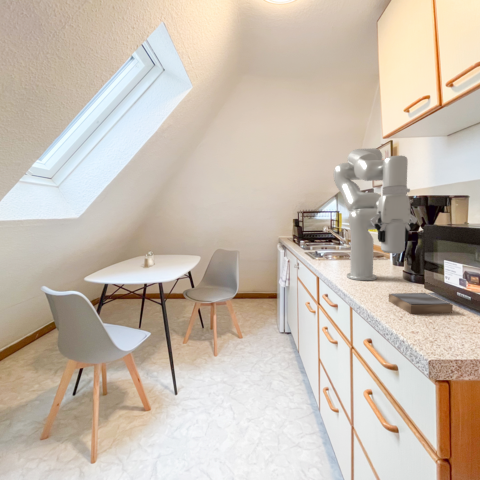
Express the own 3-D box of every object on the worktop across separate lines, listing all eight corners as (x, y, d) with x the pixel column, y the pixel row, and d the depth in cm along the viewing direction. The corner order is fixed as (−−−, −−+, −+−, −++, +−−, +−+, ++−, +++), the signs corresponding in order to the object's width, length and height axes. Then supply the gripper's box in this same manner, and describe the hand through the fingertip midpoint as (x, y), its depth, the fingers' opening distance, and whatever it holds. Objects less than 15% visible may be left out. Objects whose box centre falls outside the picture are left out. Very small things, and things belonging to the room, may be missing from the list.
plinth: (388, 302, 92) (388, 293, 91) (424, 302, 92) (425, 292, 91) (410, 315, 80) (410, 304, 80) (452, 314, 80) (452, 303, 79)
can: (407, 253, 95) (409, 219, 94) (384, 253, 97) (385, 219, 96) (400, 250, 103) (401, 218, 101) (378, 250, 104) (379, 219, 103)
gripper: (412, 192, 101) (410, 240, 103) (365, 193, 101) (364, 241, 103) (425, 190, 94) (423, 242, 95) (374, 192, 94) (373, 243, 96)
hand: (392, 241), depth 99 cm, fingers closed on can, 7 cm apart
